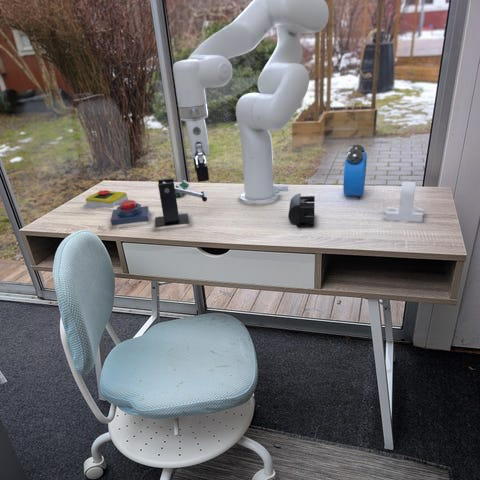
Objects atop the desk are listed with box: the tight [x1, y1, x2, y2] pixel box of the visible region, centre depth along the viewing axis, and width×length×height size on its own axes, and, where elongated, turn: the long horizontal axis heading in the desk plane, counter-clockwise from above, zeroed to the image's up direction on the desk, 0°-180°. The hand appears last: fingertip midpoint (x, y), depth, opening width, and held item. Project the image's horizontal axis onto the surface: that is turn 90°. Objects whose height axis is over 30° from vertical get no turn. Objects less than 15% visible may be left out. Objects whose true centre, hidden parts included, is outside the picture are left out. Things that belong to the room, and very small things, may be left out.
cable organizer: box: [384, 180, 425, 223], centre depth 131 cm, size 5×10×10 cm, turn 70°
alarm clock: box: [342, 143, 368, 200], centre depth 148 cm, size 13×6×15 cm, turn 164°
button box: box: [110, 202, 150, 226], centre depth 146 cm, size 11×9×4 cm
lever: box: [163, 182, 208, 203], centre depth 138 cm, size 13×6×2 cm, turn 98°
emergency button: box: [83, 189, 129, 210], centre depth 160 cm, size 9×4×15 cm
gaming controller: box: [175, 179, 190, 197], centre depth 164 cm, size 9×4×6 cm
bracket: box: [154, 177, 190, 228], centre depth 139 cm, size 10×8×13 cm
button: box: [121, 199, 137, 210], centre depth 144 cm, size 4×4×2 cm
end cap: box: [288, 192, 316, 229], centre depth 135 cm, size 10×7×7 cm
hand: (202, 175), depth 136 cm, fingers open, 9 cm apart
